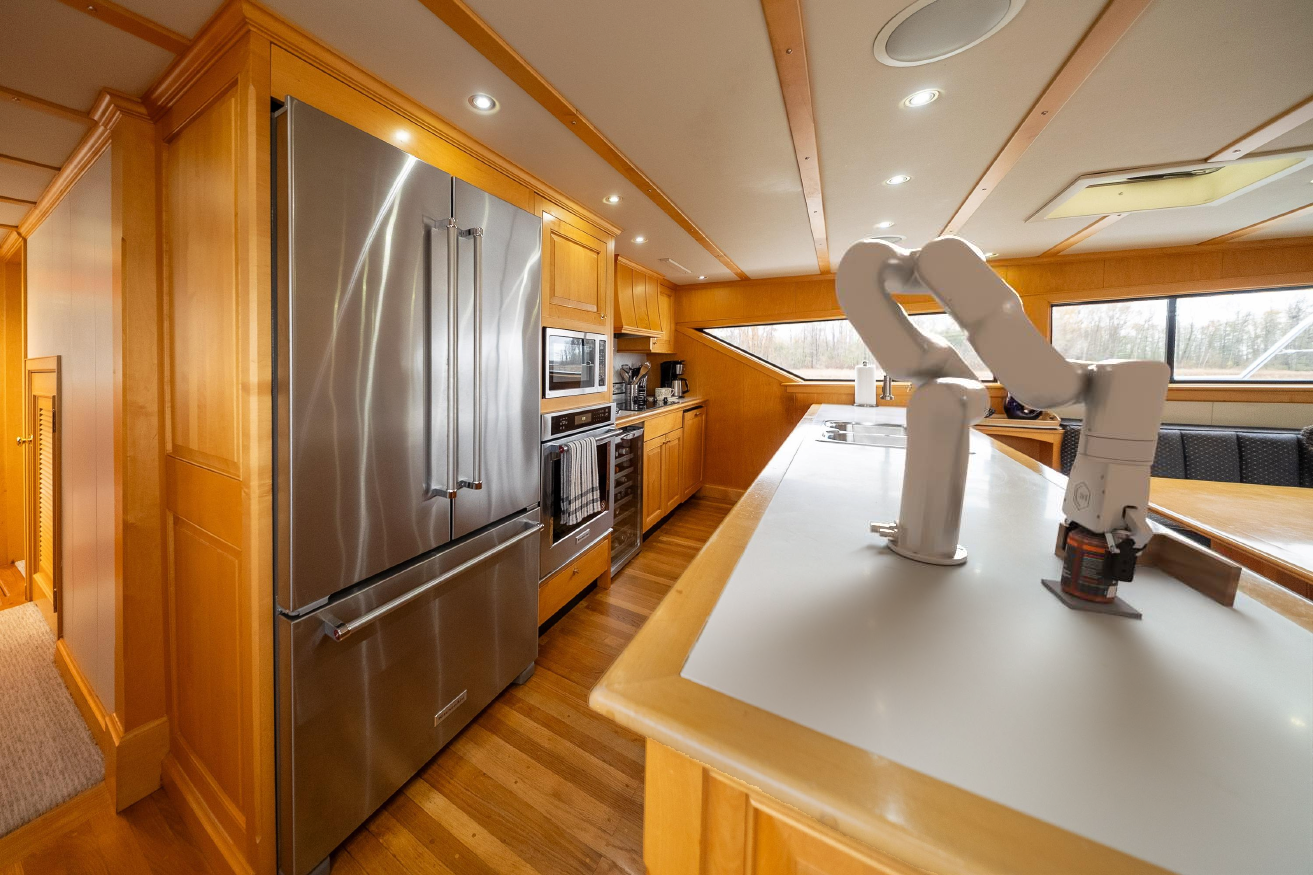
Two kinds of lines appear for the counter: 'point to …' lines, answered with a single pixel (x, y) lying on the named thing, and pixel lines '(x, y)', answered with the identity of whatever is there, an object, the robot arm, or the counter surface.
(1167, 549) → the angled wooden boards
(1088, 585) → the supplement bottle
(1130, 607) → the mat
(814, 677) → the counter surface
